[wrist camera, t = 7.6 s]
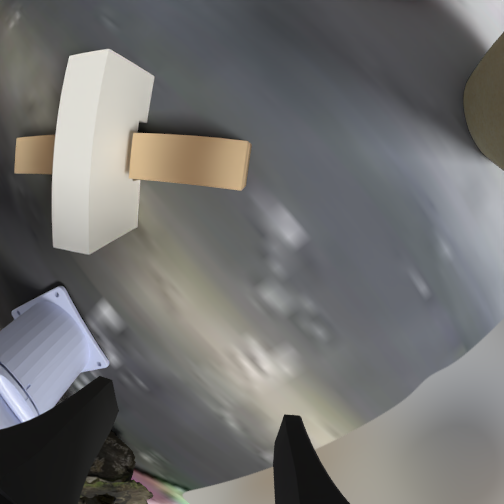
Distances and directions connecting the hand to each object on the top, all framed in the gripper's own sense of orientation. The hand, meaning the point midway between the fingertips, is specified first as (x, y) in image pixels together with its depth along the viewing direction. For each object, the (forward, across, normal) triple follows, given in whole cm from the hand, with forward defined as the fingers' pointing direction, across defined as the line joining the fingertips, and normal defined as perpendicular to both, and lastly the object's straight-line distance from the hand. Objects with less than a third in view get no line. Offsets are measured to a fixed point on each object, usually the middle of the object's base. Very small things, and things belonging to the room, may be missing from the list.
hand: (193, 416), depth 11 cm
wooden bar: (+10, +8, -9) cm, 16 cm away
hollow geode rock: (+10, +13, +28) cm, 33 cm away
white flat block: (+10, +8, -10) cm, 16 cm away
